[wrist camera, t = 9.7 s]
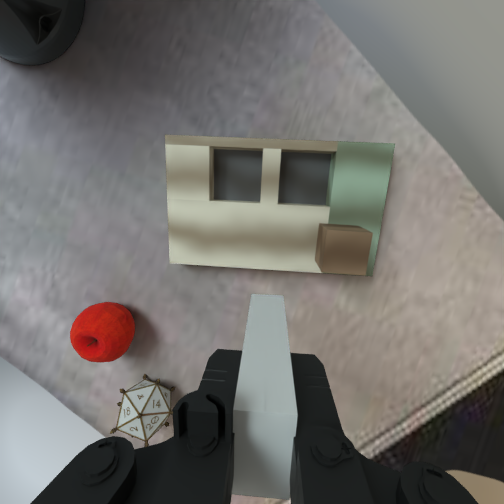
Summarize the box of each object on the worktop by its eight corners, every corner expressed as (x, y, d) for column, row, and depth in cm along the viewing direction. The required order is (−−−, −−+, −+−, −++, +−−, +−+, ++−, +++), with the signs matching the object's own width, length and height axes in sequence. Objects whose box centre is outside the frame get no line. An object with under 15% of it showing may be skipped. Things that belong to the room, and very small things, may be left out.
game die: (165, 361, 45) (157, 365, 36) (188, 408, 43) (186, 426, 34) (112, 393, 42) (88, 407, 33) (135, 445, 40) (117, 475, 31)
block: (319, 223, 31) (327, 229, 26) (358, 225, 30) (373, 232, 26) (314, 260, 32) (321, 272, 27) (352, 262, 32) (365, 275, 27)
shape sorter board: (174, 139, 32) (164, 134, 29) (383, 147, 31) (395, 143, 28) (177, 256, 36) (169, 263, 33) (363, 268, 35) (372, 276, 32)
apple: (146, 344, 40) (119, 379, 33) (95, 337, 40) (58, 371, 33) (146, 296, 38) (117, 322, 31) (92, 289, 38) (52, 314, 31)
